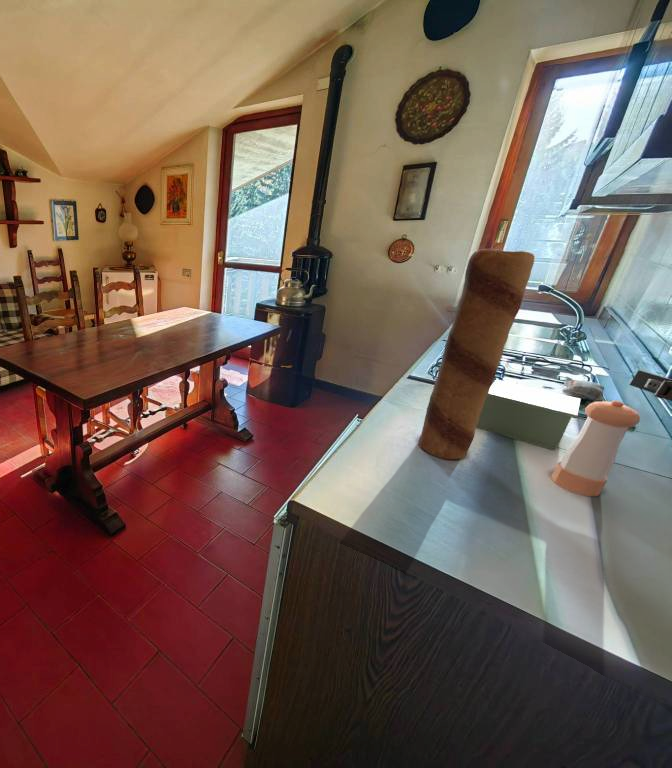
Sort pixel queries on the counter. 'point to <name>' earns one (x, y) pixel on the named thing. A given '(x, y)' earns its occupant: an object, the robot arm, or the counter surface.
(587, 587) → the counter surface
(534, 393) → the lid
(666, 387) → the robot arm
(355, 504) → the counter surface
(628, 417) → the pepper shaker
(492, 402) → the green box
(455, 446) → the wafer roll
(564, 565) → the counter surface
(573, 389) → the packaged food
